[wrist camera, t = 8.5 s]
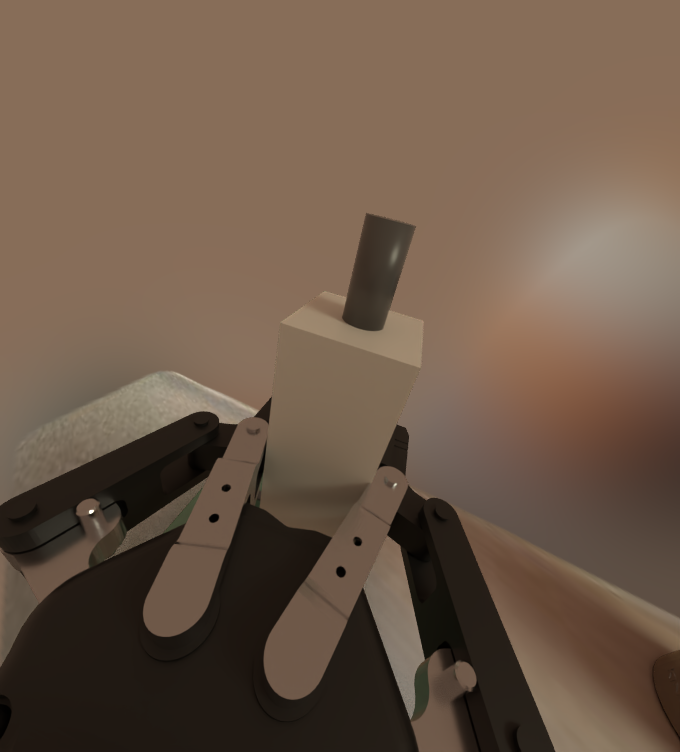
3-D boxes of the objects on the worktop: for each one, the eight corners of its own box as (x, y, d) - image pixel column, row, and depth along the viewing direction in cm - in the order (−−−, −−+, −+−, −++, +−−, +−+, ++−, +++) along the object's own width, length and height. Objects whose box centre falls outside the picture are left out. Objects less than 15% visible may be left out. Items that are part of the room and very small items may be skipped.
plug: (343, 524, 18) (457, 234, 9) (323, 595, 15) (473, 245, 6) (285, 501, 19) (341, 204, 10) (253, 564, 15) (294, 197, 6)
